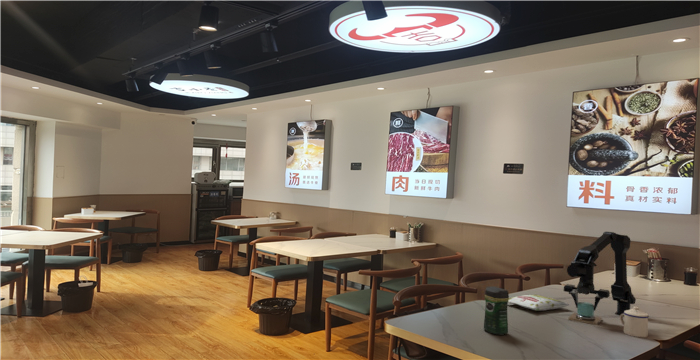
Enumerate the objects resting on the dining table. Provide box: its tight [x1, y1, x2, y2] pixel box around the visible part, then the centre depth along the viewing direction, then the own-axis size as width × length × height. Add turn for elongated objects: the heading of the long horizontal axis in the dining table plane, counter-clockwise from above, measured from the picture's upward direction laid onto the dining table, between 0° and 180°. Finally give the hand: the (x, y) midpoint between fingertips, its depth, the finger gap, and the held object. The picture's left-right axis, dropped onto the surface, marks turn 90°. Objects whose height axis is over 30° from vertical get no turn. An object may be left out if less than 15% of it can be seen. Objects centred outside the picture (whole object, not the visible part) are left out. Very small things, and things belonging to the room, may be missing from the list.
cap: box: [576, 301, 595, 316], centre depth 216 cm, size 6×6×5 cm
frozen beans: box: [508, 294, 570, 312], centre depth 236 cm, size 21×6×25 cm
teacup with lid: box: [619, 306, 650, 338], centre depth 198 cm, size 12×9×12 cm
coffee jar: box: [483, 285, 510, 336], centre depth 192 cm, size 10×8×19 cm
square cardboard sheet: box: [567, 312, 603, 326], centre depth 216 cm, size 12×12×5 cm
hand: (585, 309), depth 216 cm, fingers open, 7 cm apart
